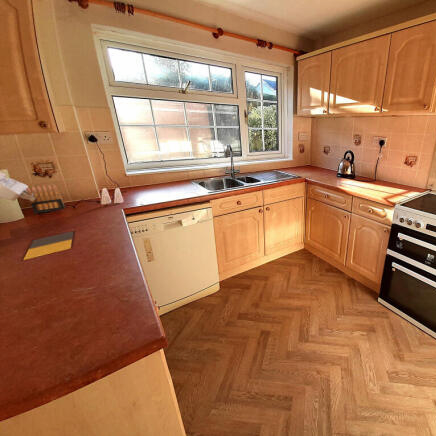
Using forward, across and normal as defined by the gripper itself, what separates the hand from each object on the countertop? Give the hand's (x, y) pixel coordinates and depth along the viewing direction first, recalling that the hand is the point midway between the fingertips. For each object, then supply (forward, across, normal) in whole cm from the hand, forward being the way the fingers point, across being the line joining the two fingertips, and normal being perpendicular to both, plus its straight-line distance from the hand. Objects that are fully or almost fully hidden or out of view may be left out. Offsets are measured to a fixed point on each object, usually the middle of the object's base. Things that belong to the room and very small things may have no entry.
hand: (35, 198), depth 110 cm
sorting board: (+14, +16, -12) cm, 25 cm away
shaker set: (+32, -38, +6) cm, 50 cm away
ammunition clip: (+7, 0, -3) cm, 7 cm away
